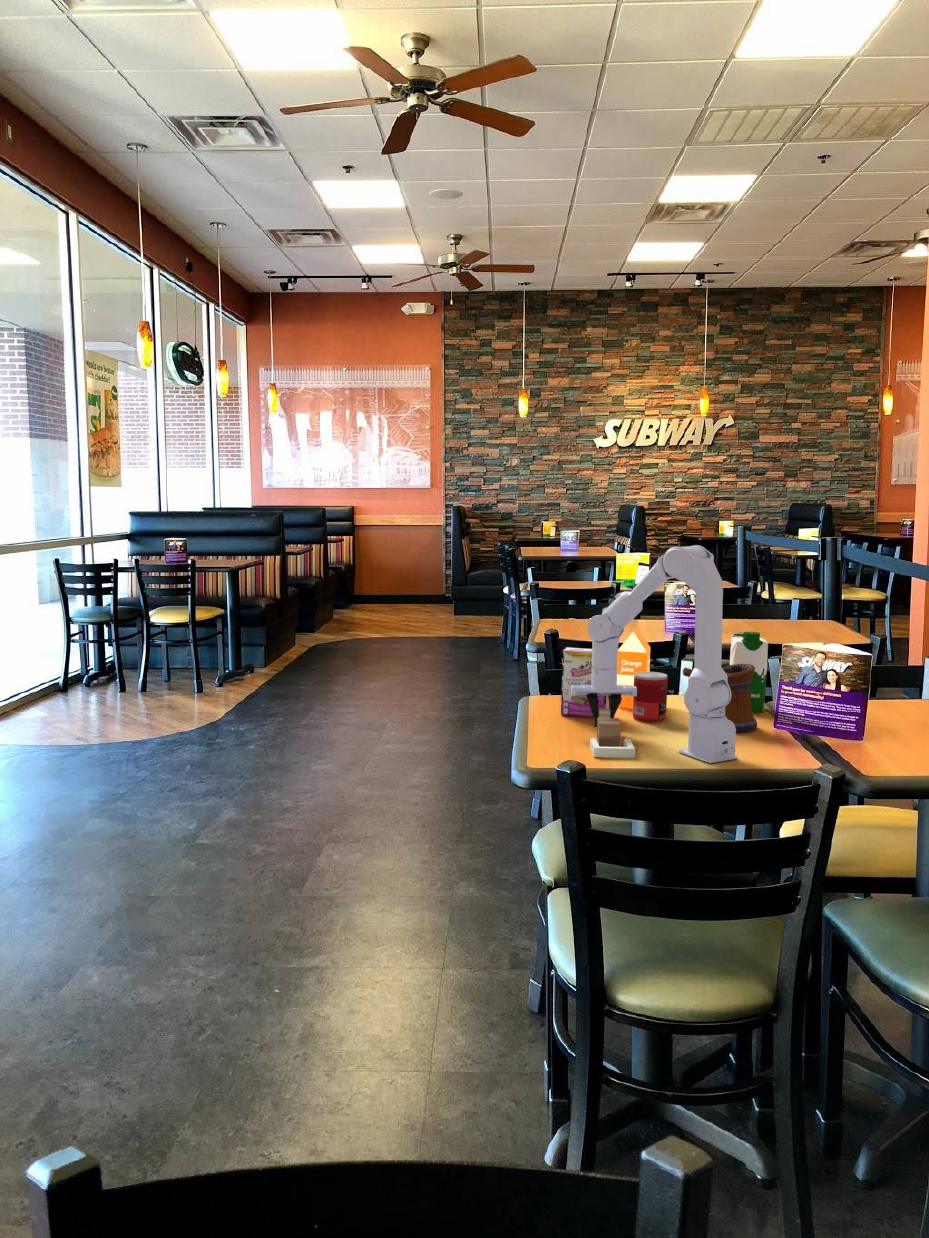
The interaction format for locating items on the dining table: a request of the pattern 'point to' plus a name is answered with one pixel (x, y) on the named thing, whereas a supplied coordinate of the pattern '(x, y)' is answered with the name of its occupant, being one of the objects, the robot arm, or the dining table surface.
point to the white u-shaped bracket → (612, 750)
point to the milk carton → (753, 653)
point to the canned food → (650, 696)
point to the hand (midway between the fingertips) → (602, 726)
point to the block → (608, 729)
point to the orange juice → (632, 662)
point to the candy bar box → (577, 682)
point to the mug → (738, 696)
